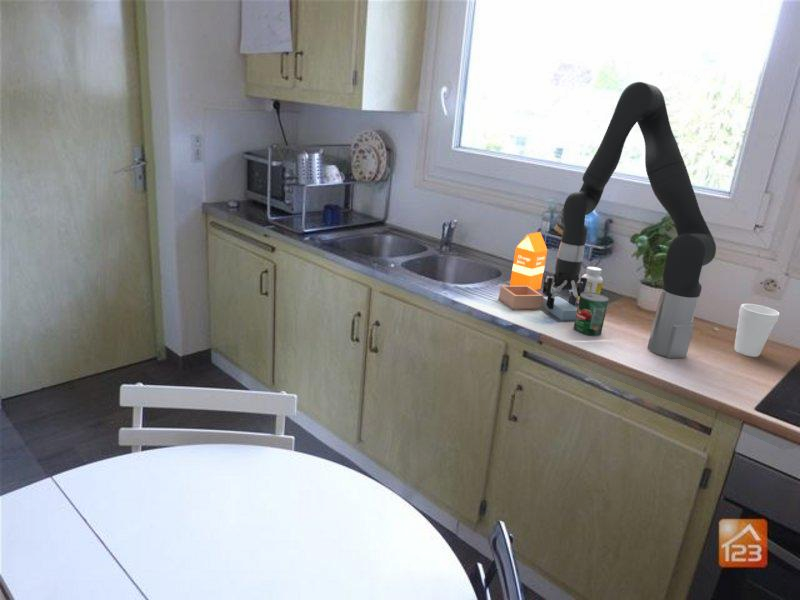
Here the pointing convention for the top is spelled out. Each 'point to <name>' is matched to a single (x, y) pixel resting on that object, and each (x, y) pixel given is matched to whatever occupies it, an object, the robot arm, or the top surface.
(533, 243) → the orange juice
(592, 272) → the supplement bottle
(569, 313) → the blue-grey rectangular block
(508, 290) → the brown open box
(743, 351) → the foam cup
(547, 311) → the mat
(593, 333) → the canned tomato
